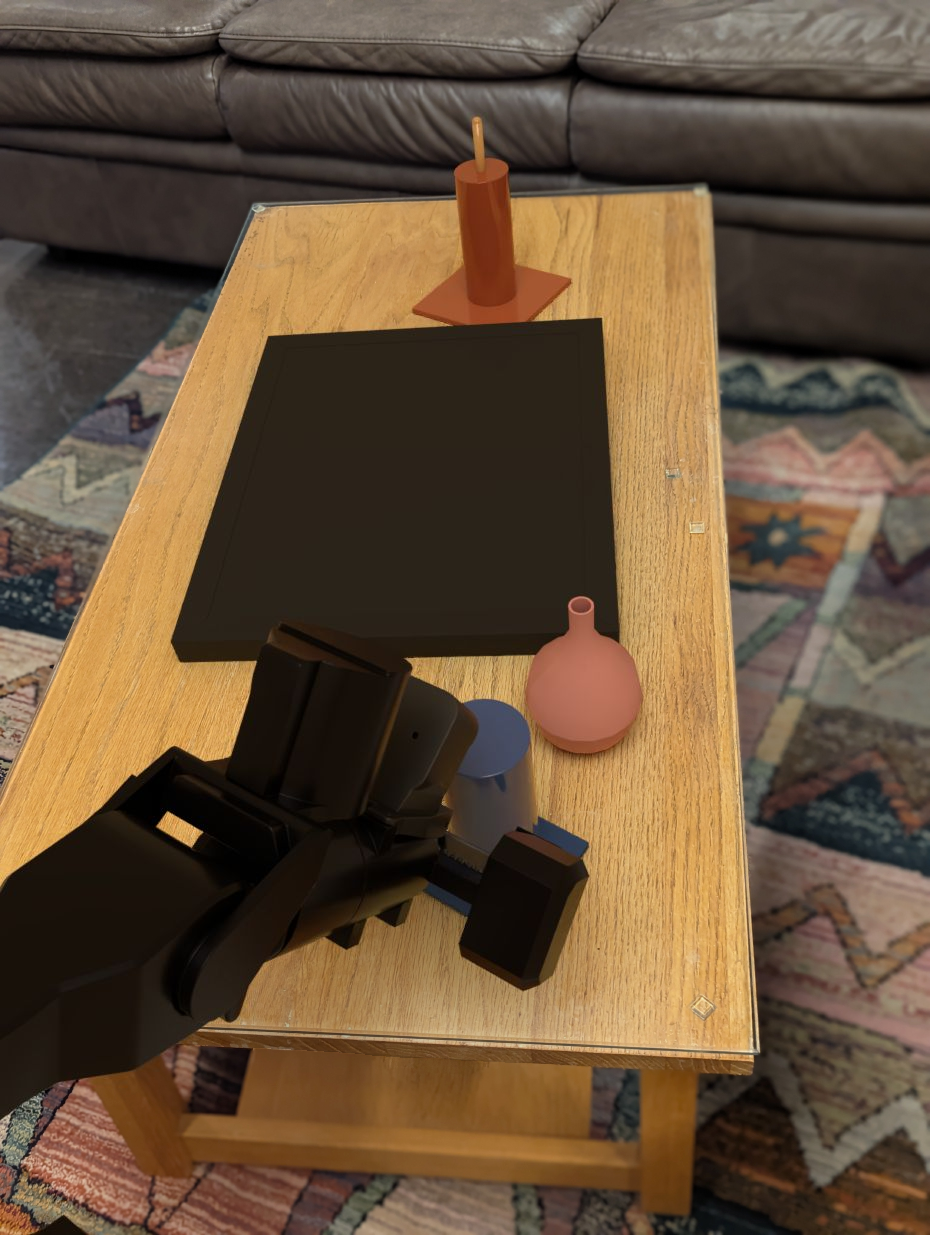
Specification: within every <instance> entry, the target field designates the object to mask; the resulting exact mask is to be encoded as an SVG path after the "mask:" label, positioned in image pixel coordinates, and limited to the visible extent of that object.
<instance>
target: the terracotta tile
mask: <svg viewBox="0 0 930 1235" xmlns="http://www.w3.org/2000/svg"><path fill="white" fill-rule="evenodd" d="M515 270H516V285H517V293H516V295H515V297H514V298H513V299H512V300H510V301H509V302H507V303H504V304H501V305H497V306H480V305H476V304H474V303H472V302H471V301H470V300H469V299H468V297H467V292H466V283H465V273H464V264H462V266H461V267H459V268H458V269H457V270H455V271H454V272H453V273H452V274H451V275H449V276H448V277H447V278H446V279H444V280H443V282H442V283H440V284H439V285H438V286H436V287H435V288H434V289H433V290H432V291H430V292H429V293H428V294H427V295H425V297H423V298H422V299H421V300H420V301H419V302H417V303H416V304H415V305H414V306H413V307H412V308H411V311H412V314H415V315H418V316H421V317H425V318H428V319H432V320H434V321H439V322H442V323H444V324H449V325H451V326H457V325H475V324H494V323H512V322H530V321H534V319H536V317H537V316H538V315H540V313H542V311H544V310H545V309H546V308H547V307H548V306H549V305H550V304H551V303H552V302H554V300H555V299H557V297H559V296H560V295H561V294H562V293H563V292H564V291H565V290H566V289H567V288H569V286H571V285H572V278H571V277H568V276H564V275H559V274H557V273H552V272H549V271H544V270H541V269H536V268H533V267H528V266H525V265H521V264H518V263H517V264H516V263H515Z"/></svg>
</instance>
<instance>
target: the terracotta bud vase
mask: <svg viewBox="0 0 930 1235" xmlns="http://www.w3.org/2000/svg"><path fill="white" fill-rule="evenodd" d="M568 610H569V630H568V632H567V633H566V634H565V635H564V636H562V637H558V638H556V639H555V640H553V641H551V642H550V643H548V644H546V645H544V646H543V647H542V649H541V650H540V651H539V652H538V653H537V654H536V655H534V657H533V658H532V662H531V664H530V668H529V670H528V676H527V681H526V686H525V691H524V696H525V702H526V709H527V711H528V712H529V714H530V715H531V717H532V719H533V720H534V722H535V724H536V726H537V727H538V729H539V730H540V732H541V734H542V735H543V737H544V739H546V740H547V741H549V742H550V743H551V744H553V745H554V746H555V747H557V748H558V749H561V750H564V751H567V752H571V753H574V754H594V753H597V752H601V751H605V750H608V749H610V748H612V747H613V746H614V745H616V744H617V743H619V742H621V741H622V739H624V738H625V736H626V734H627V733H628V732H629V731H630V729H631V727H632V726H633V724H634V722H635V720H636V718H637V716H638V714H639V713H640V712H641V711H640V710H641V706H642V702H643V697H644V694H643V690H642V686H641V681H640V677H639V672H638V668H637V665H636V661H635V659H634V657H633V656H632V654H630V652H629V651H628V649H627V648H626V647H625V646H624V645H623V644H621V643H620V642H619V643H618V642H616V641H614V640H613V639H611V638H608V637H605V636H601V635H600V634H599V633H598V632H597V631H596V630H595V629H594V604H593V602H592V600H591V599H589V598H587V597H576V598H574V599H572V600H571V601H570V602H569V605H568Z"/></svg>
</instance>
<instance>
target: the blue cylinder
mask: <svg viewBox="0 0 930 1235" xmlns="http://www.w3.org/2000/svg"><path fill="white" fill-rule="evenodd" d="M461 703H462V704H463V705H465V706H466V707H467V708H468V709H469V710H470V711H472V712H473V713H474V714H475V716H476V717H477V720H478V723H479V729H478V734H477V736H476V738H475V740H474V742H473V744H472V745H471V746H470V747H469V749H468V751H467V753H466V755H465V757H464V759H463V761H462V763H461V765H460V767H459V769H458V771H457V773H456V775H455V777H454V779H453V781H452V783H451V785H450V787H449V789H448V790H447V792H446V794H445V795H444V798H443V802H444V806H446V807H448V808H450V809H452V810H454V811H453V814H452V817H451V820H450V823H449V826H448V828H449V830H450V832H451V833H452V834H454V835H456V836H458V837H460V838H462V839H464V840H466V841H468V842H470V843H472V844H474V845H475V846H477V847H479V848H481V849H483V850H485V851H487V852H489V853H491V852H492V851H493V849H494V848H495V846H496V845H497V844H498V842H499V841H500V839H501V838H502V836H503V835H504V834H506V833H509V832H511V831H516V828H517V826H519V827H521V828H523V829H525V830H527V831H529V832H531V833H533V834H535V835H537V836H539V826H538V816H539V814H538V805H537V804H538V803H537V794H536V793H537V792H536V781H535V771H534V770H535V769H534V760H533V747H532V735H531V730H530V726H529V723H528V721H527V719H526V718H525V716H524V715H523V714H522V713H521V712H520V711H519V710H518V709H517V708H516V707H514V706H513V705H511V704H509V703H507V702H504V701H502V700H497V699H494V698H493V699H492V698H476V699H471V700H467V701H464V702H461ZM459 861H461V857H460V858H459ZM465 864H466V865H468V861H467V862H466V863H465ZM472 868H474V869H475V865H474V866H473V867H472ZM480 872H482V869H481V870H480Z"/></svg>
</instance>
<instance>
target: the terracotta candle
mask: <svg viewBox="0 0 930 1235" xmlns="http://www.w3.org/2000/svg"><path fill="white" fill-rule="evenodd" d="M471 127H472V136H473V137H472V139H473V148H474V158H473V159H470V160H466V161H465V162H462V163H460V164H459V165H458V166H457V167H456V168H455V169H454V172H453V178H454V179H453V180H454V189H455V197H456V208H457V215H458V216H457V217H458V224H459V236H460V243H461V252H462V253H461V255H462V262H463V263H462V265H464V273H465V283H466V292H467V297H468V299H469V300H470V301H471V302H472V303H474V304H476V305H480V306H497V305H501V304H504V303H507V302H509V301H510V300H512V299H513V298H514V297H515V295H516V293H517V285H516V270H515V264H516V258H515V256H516V255H515V245H514V244H515V242H514V241H515V240H514V228H513V227H514V226H513V216H512V198H511V186H510V185H511V183H510V172H509V170H510V169H509V165H508V164H507V162H505V161H503V160H501V159H498V158H492V157H486V156H485V143H484V131H483V130H484V129H483V121H482V118H481V117H479V116H474V117H473V118H472V120H471Z"/></svg>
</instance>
